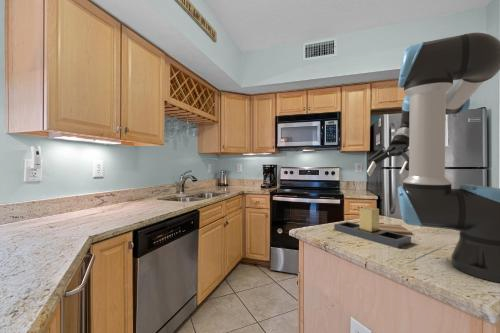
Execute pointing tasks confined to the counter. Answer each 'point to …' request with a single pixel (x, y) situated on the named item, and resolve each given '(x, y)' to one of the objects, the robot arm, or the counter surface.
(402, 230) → the coaster
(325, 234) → the counter surface
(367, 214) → the golden rectangular block
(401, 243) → the compartment tray
